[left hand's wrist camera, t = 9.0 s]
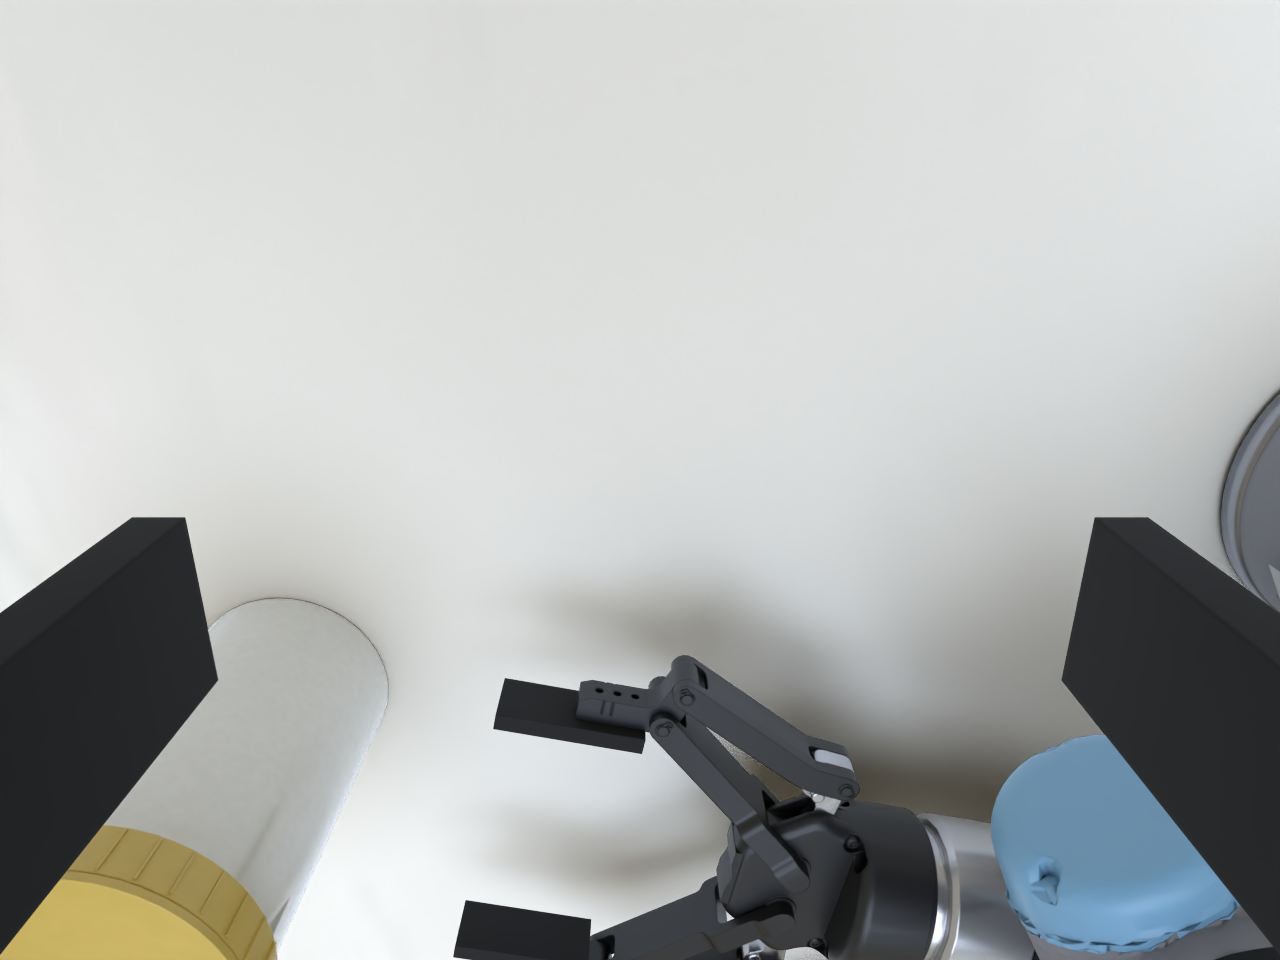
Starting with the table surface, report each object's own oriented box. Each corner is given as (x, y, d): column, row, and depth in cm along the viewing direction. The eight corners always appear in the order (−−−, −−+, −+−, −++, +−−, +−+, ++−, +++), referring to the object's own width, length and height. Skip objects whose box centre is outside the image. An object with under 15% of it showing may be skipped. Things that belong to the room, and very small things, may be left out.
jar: (426, 711, 46) (306, 1030, 29) (277, 787, 47) (84, 1128, 31) (310, 565, 43) (102, 830, 26) (155, 651, 44) (-131, 951, 28)
